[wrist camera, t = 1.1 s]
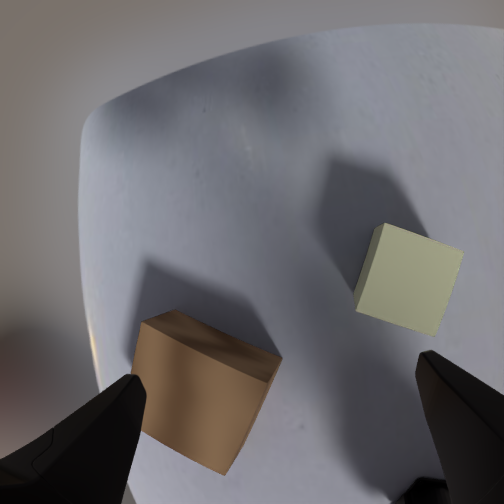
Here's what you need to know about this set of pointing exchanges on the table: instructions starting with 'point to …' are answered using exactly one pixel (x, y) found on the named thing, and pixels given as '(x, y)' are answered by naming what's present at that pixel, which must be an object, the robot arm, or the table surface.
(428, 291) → the sage block
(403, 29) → the table surface
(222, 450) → the walnut block
